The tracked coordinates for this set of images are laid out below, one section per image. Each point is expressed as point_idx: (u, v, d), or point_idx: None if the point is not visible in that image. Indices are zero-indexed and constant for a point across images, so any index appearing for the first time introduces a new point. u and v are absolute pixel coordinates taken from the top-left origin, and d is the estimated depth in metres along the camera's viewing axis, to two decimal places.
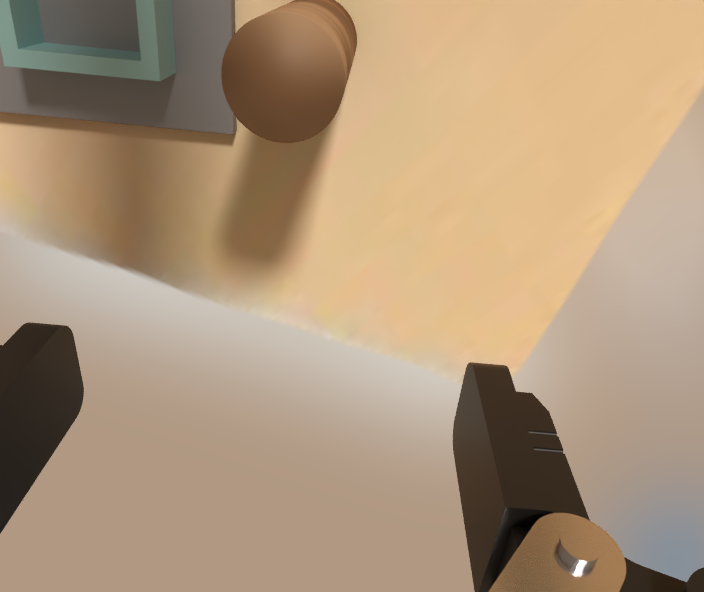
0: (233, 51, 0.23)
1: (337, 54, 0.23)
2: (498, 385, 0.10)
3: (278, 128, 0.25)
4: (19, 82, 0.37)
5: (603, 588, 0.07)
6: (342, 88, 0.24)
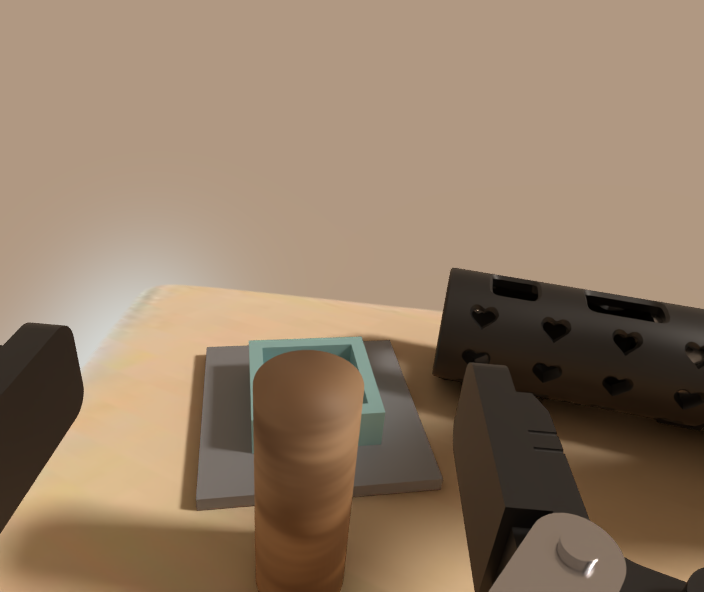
0: (324, 355, 0.28)
1: (342, 415, 0.25)
2: (498, 385, 0.10)
3: (265, 383, 0.26)
4: (230, 363, 0.48)
5: (603, 588, 0.07)
6: (314, 421, 0.24)
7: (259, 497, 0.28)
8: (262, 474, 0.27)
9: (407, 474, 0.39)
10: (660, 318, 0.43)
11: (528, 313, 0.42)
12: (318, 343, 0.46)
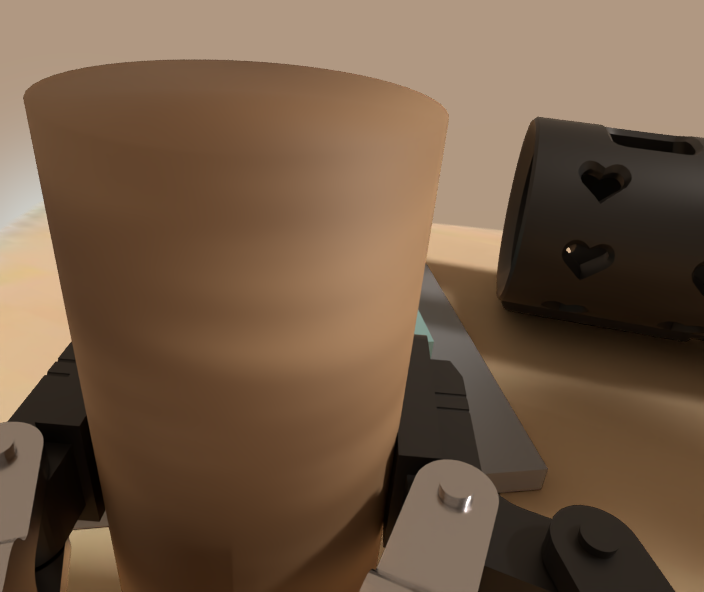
0: (308, 70, 0.09)
1: (378, 155, 0.06)
2: (414, 352, 0.11)
3: (86, 85, 0.07)
4: None
5: (474, 522, 0.08)
6: (249, 154, 0.05)
7: (106, 506, 0.09)
8: (94, 429, 0.08)
9: None
10: None
11: (685, 173, 0.24)
12: None
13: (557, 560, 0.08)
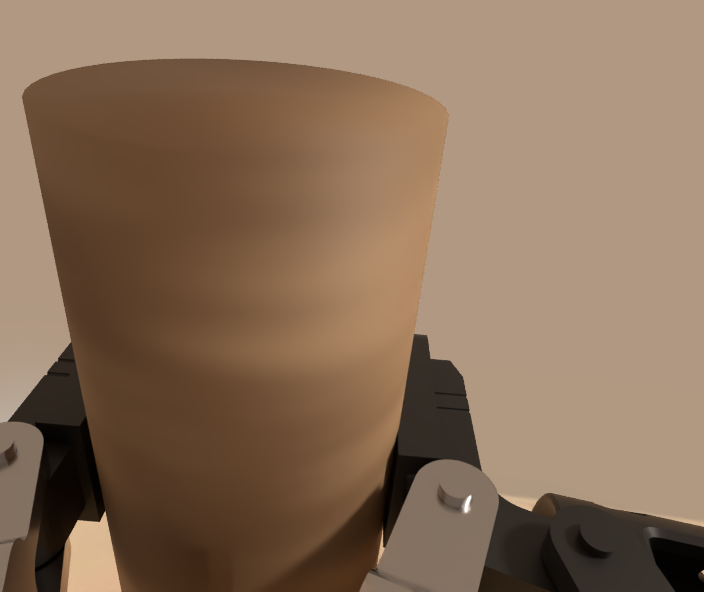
0: (307, 70, 0.09)
1: (378, 154, 0.06)
2: (414, 352, 0.11)
3: (84, 83, 0.07)
4: None
5: (473, 522, 0.08)
6: (248, 153, 0.05)
7: (105, 506, 0.09)
8: (93, 429, 0.08)
9: None
10: None
11: None
12: None
13: (557, 560, 0.08)
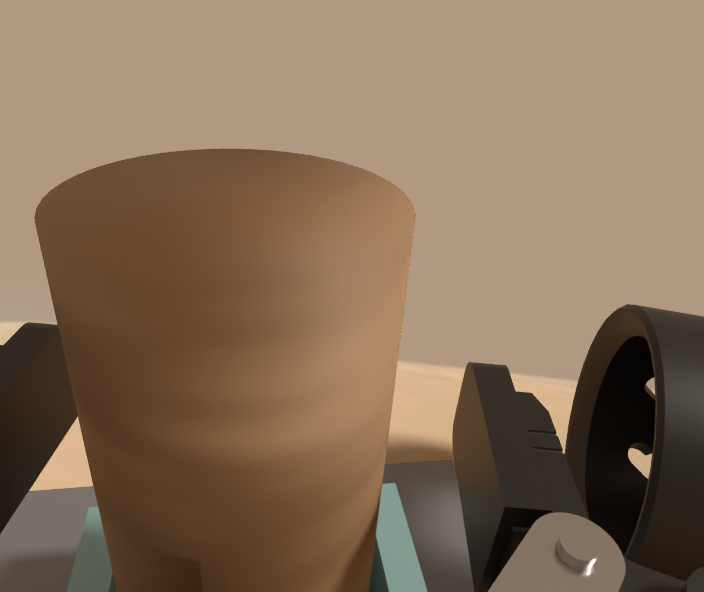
0: (292, 158, 0.10)
1: (346, 272, 0.06)
2: (498, 385, 0.10)
3: (89, 196, 0.08)
4: (59, 547, 0.19)
5: (603, 588, 0.07)
6: (231, 283, 0.06)
7: (111, 563, 0.10)
8: (99, 498, 0.09)
9: None
10: None
11: None
12: None
13: None
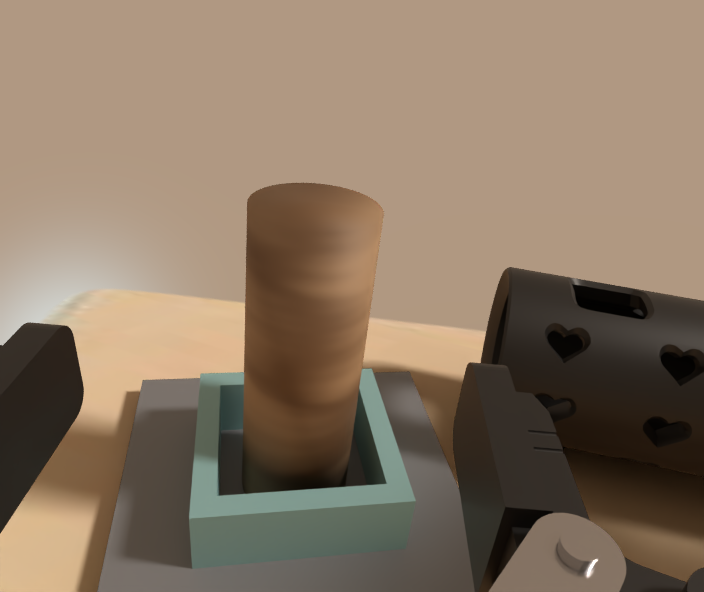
0: (334, 188, 0.23)
1: (358, 231, 0.20)
2: (498, 385, 0.10)
3: (263, 202, 0.21)
4: (174, 406, 0.32)
5: (603, 588, 0.07)
6: (323, 232, 0.19)
7: (250, 357, 0.23)
8: (255, 321, 0.22)
9: None
10: None
11: (637, 338, 0.27)
12: None
13: None
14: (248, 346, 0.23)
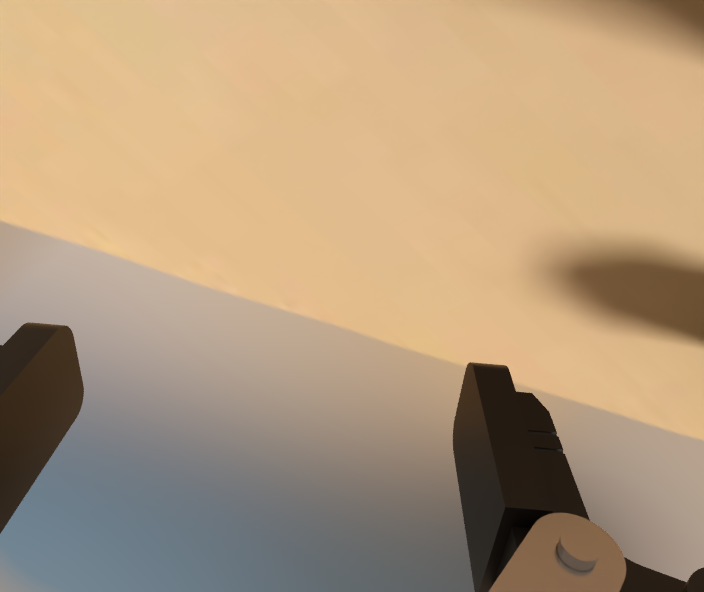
0: None
1: None
2: (498, 385, 0.10)
3: None
4: None
5: (603, 588, 0.07)
6: None
7: None
8: None
9: None
10: None
11: None
12: None
13: None
14: None
